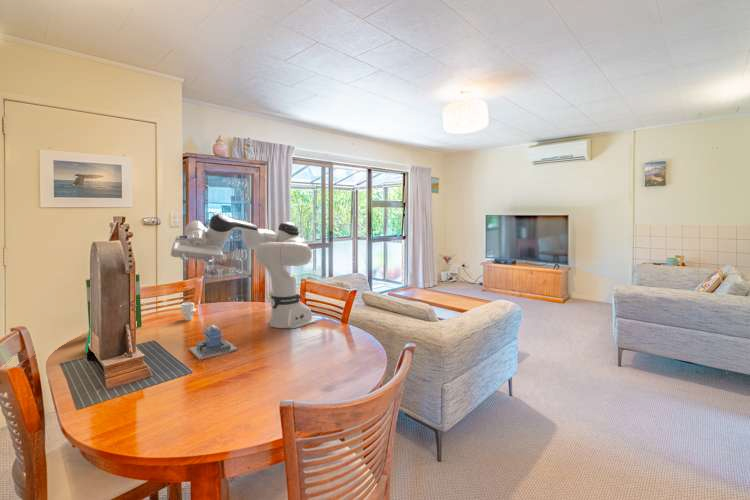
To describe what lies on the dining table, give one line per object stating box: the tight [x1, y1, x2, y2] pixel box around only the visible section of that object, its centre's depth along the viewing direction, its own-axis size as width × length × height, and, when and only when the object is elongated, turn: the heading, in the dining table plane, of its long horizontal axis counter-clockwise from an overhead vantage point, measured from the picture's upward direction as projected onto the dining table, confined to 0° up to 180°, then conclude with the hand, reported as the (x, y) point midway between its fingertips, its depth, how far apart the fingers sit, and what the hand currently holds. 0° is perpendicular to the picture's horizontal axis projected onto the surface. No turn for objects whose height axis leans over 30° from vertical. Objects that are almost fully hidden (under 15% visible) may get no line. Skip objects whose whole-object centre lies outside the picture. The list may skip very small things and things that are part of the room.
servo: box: [203, 324, 223, 349], centre depth 141 cm, size 4×8×9 cm, turn 41°
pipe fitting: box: [179, 301, 197, 321], centre depth 181 cm, size 6×7×8 cm
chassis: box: [189, 338, 239, 361], centre depth 142 cm, size 14×12×2 cm
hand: (198, 262), depth 155 cm, fingers open, 8 cm apart
